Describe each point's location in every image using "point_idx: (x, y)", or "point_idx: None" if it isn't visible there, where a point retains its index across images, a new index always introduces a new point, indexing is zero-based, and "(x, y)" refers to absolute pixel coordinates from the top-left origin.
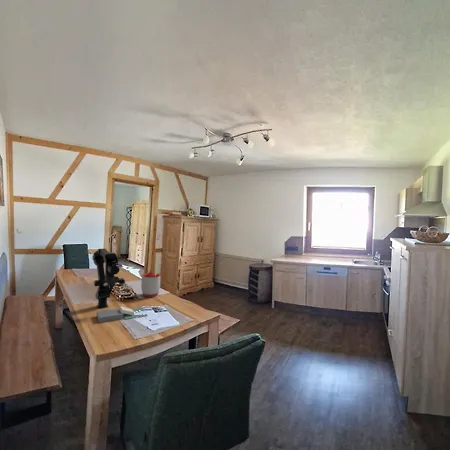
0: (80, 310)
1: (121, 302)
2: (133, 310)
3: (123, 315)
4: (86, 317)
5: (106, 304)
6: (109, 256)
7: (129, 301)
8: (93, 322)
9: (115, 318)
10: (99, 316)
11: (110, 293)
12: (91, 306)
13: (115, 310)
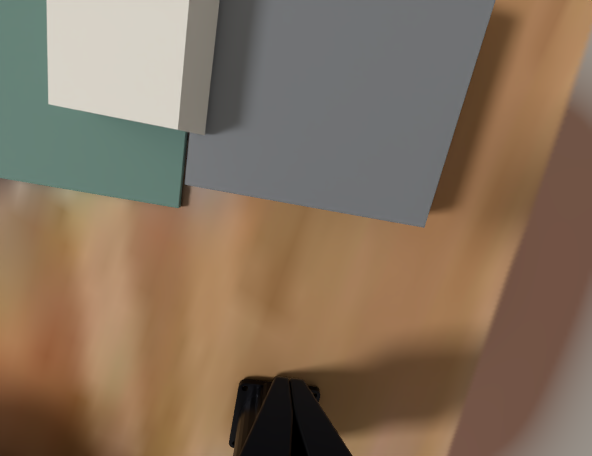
0: (440, 406)
1: (99, 429)
2: (41, 135)
3: None
4: (476, 235)
5: (246, 411)
6: None
7: (20, 421)
8: (492, 70)
9: None
10: (475, 45)
11: (268, 393)
12: None
13: (250, 138)
